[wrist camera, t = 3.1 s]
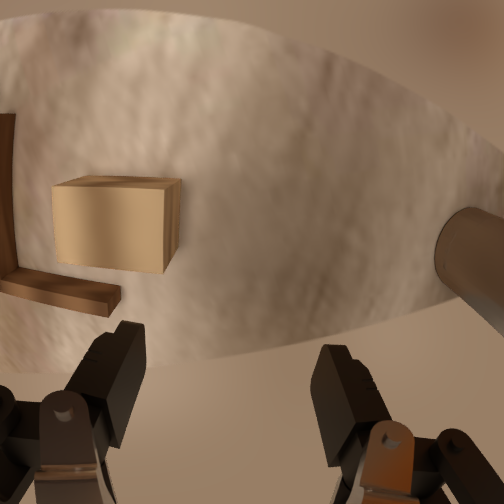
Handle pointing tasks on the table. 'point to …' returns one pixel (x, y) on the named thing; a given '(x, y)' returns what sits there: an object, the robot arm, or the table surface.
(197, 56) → the table surface
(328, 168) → the table surface
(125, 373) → the robot arm
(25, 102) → the table surface
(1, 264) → the corner fence
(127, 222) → the oak block
